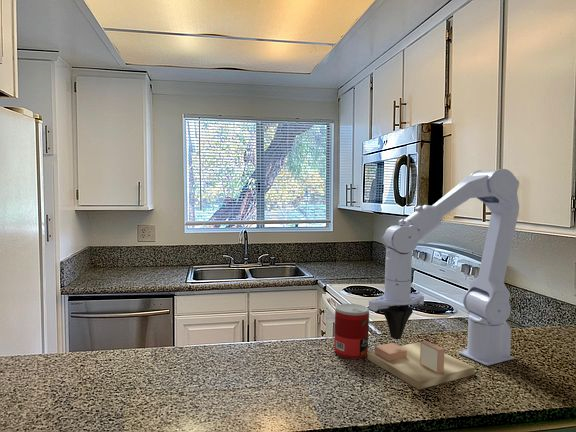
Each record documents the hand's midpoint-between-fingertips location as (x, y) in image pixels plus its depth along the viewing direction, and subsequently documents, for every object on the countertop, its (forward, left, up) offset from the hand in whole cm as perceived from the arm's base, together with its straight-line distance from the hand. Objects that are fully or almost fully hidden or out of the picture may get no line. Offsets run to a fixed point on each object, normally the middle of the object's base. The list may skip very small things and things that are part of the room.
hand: (395, 337), depth 94 cm
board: (-3, +5, -5) cm, 8 cm away
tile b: (-2, +9, -4) cm, 10 cm away
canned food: (+6, -8, -6) cm, 12 cm away
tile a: (-1, 0, -3) cm, 3 cm away
